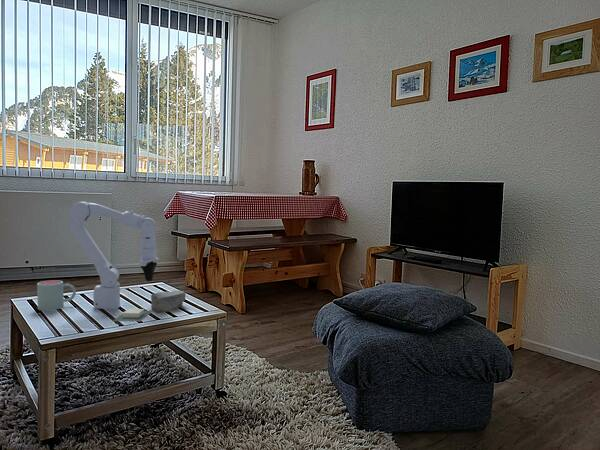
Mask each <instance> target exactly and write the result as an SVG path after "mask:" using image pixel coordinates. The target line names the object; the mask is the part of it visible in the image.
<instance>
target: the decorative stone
mask: <svg viewBox="0 0 600 450" xmlns="http://www.w3.org/2000/svg"><path fill="white" fill-rule="evenodd" d="M150 297H151V298H150V300H151V304H150V308H151V311H152V312H156V313H159V314H161V313H167V312H171V311H174V310H177V309H179V308H181V307H182V306H183V303H184V302H185V301H186V292H185V291H184V290H177V289H176V290H172V291H170V290H169V291H161V292H156V293H155V292H154V293H151V295H150Z"/></svg>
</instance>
